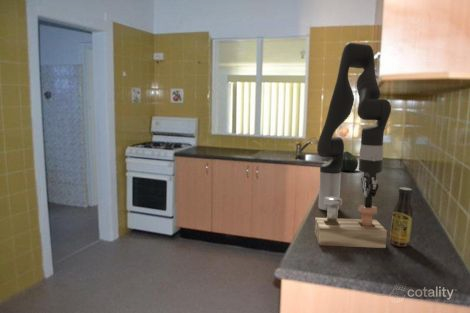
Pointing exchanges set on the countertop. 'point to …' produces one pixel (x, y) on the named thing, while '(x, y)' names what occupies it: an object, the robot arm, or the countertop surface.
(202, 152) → the countertop surface
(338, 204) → the grey peg
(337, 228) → the beech block
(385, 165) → the countertop surface
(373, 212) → the terracotta peg
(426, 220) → the countertop surface
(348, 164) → the squash
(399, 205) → the sauce bottle
